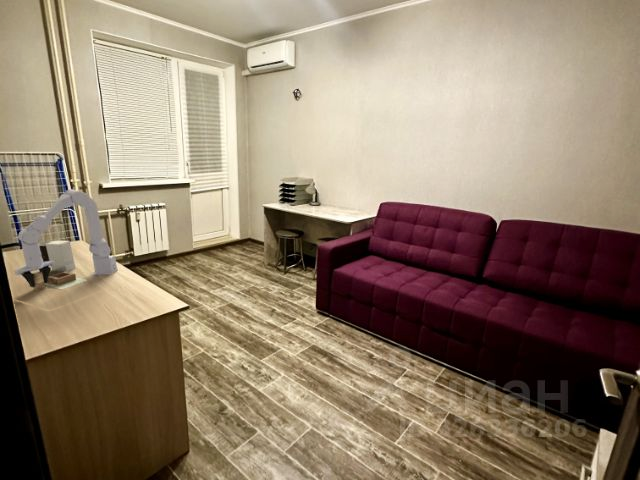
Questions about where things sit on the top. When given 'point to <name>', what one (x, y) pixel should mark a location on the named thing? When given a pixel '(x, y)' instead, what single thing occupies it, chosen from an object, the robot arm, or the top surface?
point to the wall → (57, 270)
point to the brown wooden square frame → (61, 278)
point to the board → (74, 282)
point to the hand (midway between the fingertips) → (38, 284)
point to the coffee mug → (44, 251)
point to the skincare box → (61, 254)
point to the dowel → (38, 281)
